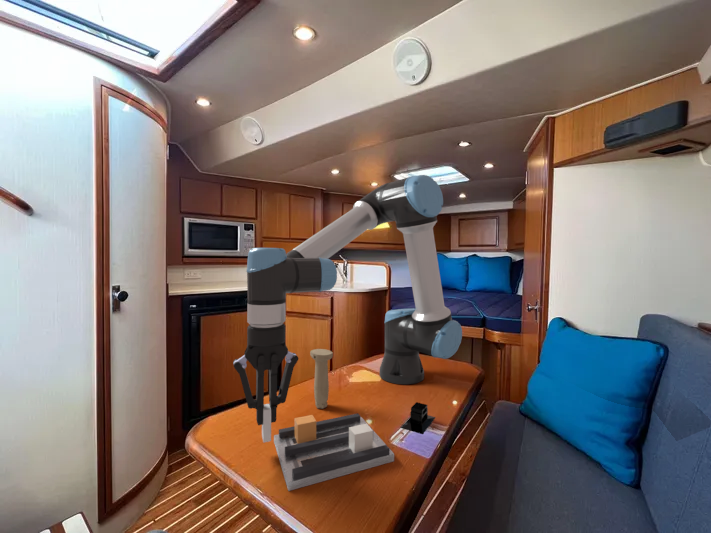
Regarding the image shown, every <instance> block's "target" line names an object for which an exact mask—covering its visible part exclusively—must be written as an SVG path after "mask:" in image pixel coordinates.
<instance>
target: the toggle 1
mask: <svg viewBox="0 0 711 533" xmlns="http://www.w3.org/2000/svg"><path fill="white" fill-rule="evenodd" d="M316 422H317V420H316V418H315V417H314V414H308V415H305V416H299V417H294V426H295V439H296V441H297V443H298V444H299V443H304V442H308V441H312V440H316Z"/></svg>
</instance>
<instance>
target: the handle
mask: <svg viewBox="0 0 711 533" xmlns="http://www.w3.org/2000/svg"><path fill="white" fill-rule="evenodd" d="M309 354H310V357H311V359H313V360H314V364H315V365H314V366H315V367H314V384H313V393H314V402H315V407H316V409H322V410H323V409H325V408H327V407H328V403H329V402H328V401H329V390H330V388H329V387H330V385H329V370H328V369H329V368H328V367H329V365H328V362H329V360H331V359H332V358H333V356H334V352H332V350H329V349H325V348H316V349H315V348H314V349H312V350H310V352H309Z"/></svg>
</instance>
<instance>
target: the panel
mask: <svg viewBox="0 0 711 533" xmlns="http://www.w3.org/2000/svg"><path fill="white" fill-rule="evenodd" d="M366 423H367V422H366V420H365V419H364V418H363V417H362V416H360V421H358V422H357V421H356V422H353V423H348V424H344V425H339V426H334V427H330V428H325V429H320V430H316V440H317V439H322V438H326V437H331V436H335V435H339V434H344V433H348V432H349V427H353V426H357V425H362V424H366ZM368 426H369V427H371V426H370V425H369V424H368ZM372 430H373V448H376V447H380V446H384V445H387V444H386V443H385V442H384V440H383V439H382V438H381V437H380V436H379V435H378V434H377V433H376V432H375V430H374V429H373V428H372ZM312 441H313V440H312ZM308 442H309V441H308ZM273 444H274V446H275V449H276V453H277V456H278V457H277V458H278V461H279V464H280V468H281V471H282V474H283V477H284V478H283V479H284V481H285V484H286V488H287V490H288V492H291V491H293V490H297V489H300V488H304V487H308V486H312V485H314V484H319V483H322V482H325V481H329V480H332V479H335V478H336V479H337V478H339V477H343V476H346V475H349V474H353V473H356V472H357V473H358V472H360V471H364V470H367V469H372V468H374V467H378V466H381V465H384V464H385V465H386V464H389V463H392V462H395V453H394V452H393V450H391V449H390V454H389V455H386V456H383V457H379V458H375V459H372V460H368V461H364V462H361V463H357V464H353V465H350V466H346V467H342V468H338V469H335V470H331V471H327V472H324V473H320V474H316V475H313V476H309V477H305V478H302V479H298V480H294V479H293V476H292V469H294V468H298V467H302V466H306V465H310V464H313V463H317V462H321V461H325V460H329V459H333V458H337V457H341V456H345V455H349V454H352V453H353V452H352V450H351V449H350V447H349V442H346V443H342V444H338V445H334V446H329V447H325V448H321V449H317V450H313V451H309V452H304V453H300V454H296V455H291V456H288V457H286V455H285V447H287V446H291V445H295V444H298V443H297V441H296V439H295V435H293V436H286V437H283V438H280V437H279V433H278V434H274V435H273ZM299 444H300V443H299Z"/></svg>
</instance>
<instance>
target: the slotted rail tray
mask: <svg viewBox="0 0 711 533" xmlns="http://www.w3.org/2000/svg"><path fill="white" fill-rule="evenodd" d="M360 417H361V414H359V413H352V414H349V415H344V416H338V417H333V418H329V419H328V418H327V419H324V420H323V419H322V420H319V421H316V430H320V429H325V428H330V427H334V426H339V425H344V424H348V423H353V422H356V421H357V422H358V421H360ZM370 428H371V429H373V428H372V427H371V426H370ZM278 434H279V437H280V438H283V437H286V436H293V435H295V425H293V426H289V427H284V428H279V429H278ZM346 442H349V432H348V433H344V434H339V435H335V436H331V437H326V438H322V439H317V440H313V441H309V442H304V443H300V444H295V445H291V446H287V447H285V455H286V457H288V456H291V455H296V454H300V453H304V452H309V451H313V450H317V449H321V448H325V447H329V446H334V445H338V444H342V443H346ZM390 450H391V448H390V447H389V446H388V445H387V444H386V445H384V446H380V447H376V448H372V449H368V450H364V451H360V452H356V453H352V454H349V455H345V456H341V457H337V458H333V459H329V460H325V461H321V462H317V463H313V464H310V465H306V466H302V467H298V468H294V469H292V476H293V479H294V480H298V479H302V478H305V477H309V476H313V475H316V474H320V473H324V472H327V471H331V470H335V469H338V468H342V467H346V466H350V465H353V464H357V463H361V462H364V461H368V460H372V459H375V458H379V457H383V456H386V455H389V454H390Z"/></svg>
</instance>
